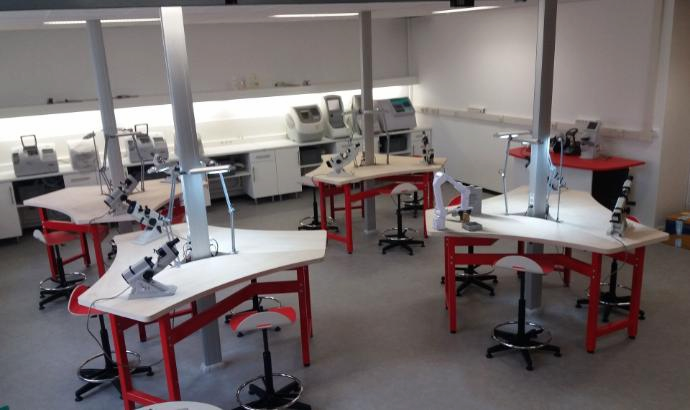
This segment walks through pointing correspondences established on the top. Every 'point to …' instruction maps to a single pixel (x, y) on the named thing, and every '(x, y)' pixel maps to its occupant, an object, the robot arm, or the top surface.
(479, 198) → the grey upright panel
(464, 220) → the walnut block
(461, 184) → the robot arm
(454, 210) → the gun
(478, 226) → the tray
